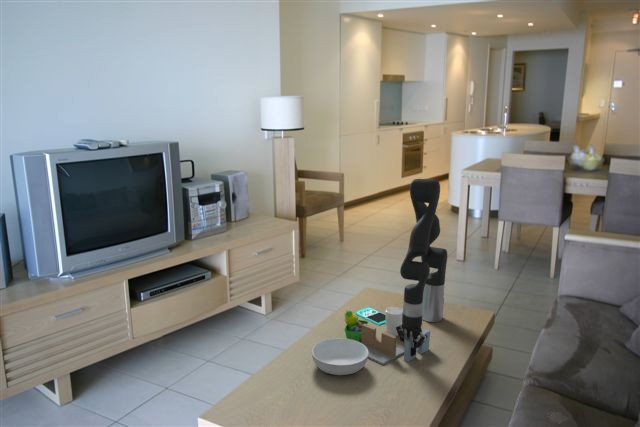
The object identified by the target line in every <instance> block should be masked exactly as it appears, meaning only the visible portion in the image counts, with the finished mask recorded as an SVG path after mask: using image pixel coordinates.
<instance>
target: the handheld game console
mask: <svg viewBox="0 0 640 427" xmlns="http://www.w3.org/2000/svg"><path fill="white" fill-rule="evenodd" d="M355 315H357V317H358V316H359V317H360V318H362V319H364V320H365V321H367V322H368V321H369V322H370V321H371V323H373V324H375V325H377V326H380V325H384V324H386V321H385V317H386V313H382V312H380V311H378V310H377V309H374V308H371V307H365V308H363V309H360V310H358V311H356V313H355Z"/></svg>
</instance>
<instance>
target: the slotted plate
mask: <svg viewBox="0 0 640 427" xmlns="http://www.w3.org/2000/svg"><path fill="white" fill-rule="evenodd" d="M422 333H423V334H424V335H427V339H426V340H425V341H424V343H423V344H422V345H421V346H420V347H418V348H417V349H416V354H415V355H414V356H411V341H410V338H409V339H407V340H405V344H404V346H403V347H404V349H403V350H404V354H403V360H404V361H406V362H410V361H412V360H414V359H415V358H416V357H417V353H419V354H420V355H422V354H424V353H426V352H427V351H428V350H430V341H431V340H430V339H431V338H430V337H431V336H430V335H431V330H429V329H426V328H425V329H423V330H422ZM419 337H420V335H419V336H418V341H419V340H420V339H419ZM418 341H417V342H418Z"/></svg>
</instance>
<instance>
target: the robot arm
mask: <svg viewBox="0 0 640 427" xmlns="http://www.w3.org/2000/svg"><path fill="white" fill-rule="evenodd" d="M440 195H441V183H440V181H439V180H438V179H434V178H415V179H413V180H412V181H411V182H410V184H409V196H410V200H411V203H412V207H413V210H414V215H415V221H416V223H415V224H414V226H413V228H412V229H411V232H410V235H409V236H410V238H409V241H408V242H409V243H408V249H407V252H406V255H405V258H404V260H403V261H402V264H401V266H400V270H399V271H400V277H401V278H403V279H404V280H409V281H417V283H411V284H410V283H409V284H406V286H405V287H404V291H403V302H402V309H403V312H402V325H399V326H397V327H396V330H397V333H398V337H399V340H400V342H402V343H403V344H404V345H405V340H407V339H409V338H410V341H411V356H414V355H415V354H416V355H417V348H418V347H420V346H421V345H422V344H423V343H424V341H425V340H426V339H427V335H424V334H423V333H422V331H423V330H422V325H423V320H424V321H425V322H428V323H439V322H441V321H442V320H443V317H444V306H445V297H444V294H445V283H446V282H445V281H446V271H447V263H448V251H447V249H445V248H443V247H436V246H431V245H432V244H433V243H434V242H435V241H436V240H437V239H438V238H439V236H440V234H441V224H440V223H441V222H440V220H439V217H438V215H437V214H436V213H437V209H438V204H439V201H440ZM427 204H428V205H427ZM418 257H420V259H421V261H416V260H414V259H416V258H418ZM431 269H436V271H433V272H431ZM419 335H420V337H419V339H420V340H419V341H418V336H419ZM417 341H418V342H417Z"/></svg>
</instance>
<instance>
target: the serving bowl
mask: <svg viewBox="0 0 640 427" xmlns="http://www.w3.org/2000/svg"><path fill="white" fill-rule="evenodd" d="M368 355H369V352H368V349H367V347H366V346H365V345H363V344H362V343H361V341H359V342H358V341H355V340H351V339H347V338H342V337H335V338H333V337H332V338H328V339H327V338H326V339H324V340H321V341H319V342H317V343H315V344H314V346H313V347H312V348H311V358H312V360H313V363H314V364H315V366H316V367H318V368H319V370H321V371H323V373H327V374H331V375H334V376H346V375H347V376H348V375H352V374H354V373H357V372H358V371H360V370H361V369H362V368H363V367H364V366H365V365H366V363H367V361H368V359H369V358H368Z"/></svg>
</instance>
